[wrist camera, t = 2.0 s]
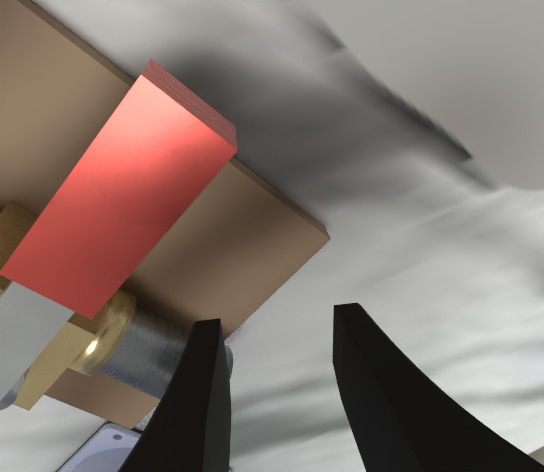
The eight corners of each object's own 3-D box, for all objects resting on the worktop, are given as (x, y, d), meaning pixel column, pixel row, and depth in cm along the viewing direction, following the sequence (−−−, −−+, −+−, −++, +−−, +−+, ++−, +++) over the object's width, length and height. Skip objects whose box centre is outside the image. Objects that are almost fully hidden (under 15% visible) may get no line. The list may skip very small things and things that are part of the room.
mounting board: (325, 228, 21) (330, 239, 20) (133, 414, 26) (130, 429, 26) (-202, -179, 12) (-232, -190, 12) (-332, 218, 18) (-359, 231, 17)
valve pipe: (238, 325, 23) (243, 406, 19) (181, 379, 24) (173, 466, 20) (-180, 84, 15) (-328, 130, 11) (-222, 185, 17) (-367, 258, 13)
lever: (11, 389, 16) (-12, 439, 15) (-64, 359, 15) (-99, 409, 14) (235, 124, 12) (237, 150, 10) (152, 57, 11) (141, 74, 9)
